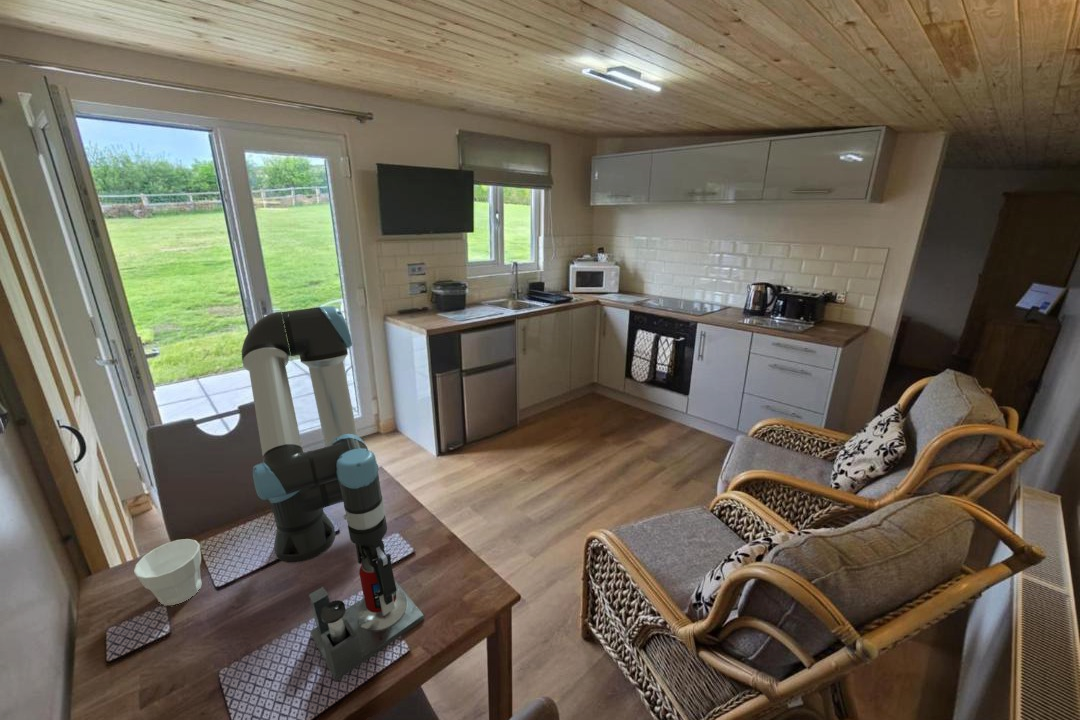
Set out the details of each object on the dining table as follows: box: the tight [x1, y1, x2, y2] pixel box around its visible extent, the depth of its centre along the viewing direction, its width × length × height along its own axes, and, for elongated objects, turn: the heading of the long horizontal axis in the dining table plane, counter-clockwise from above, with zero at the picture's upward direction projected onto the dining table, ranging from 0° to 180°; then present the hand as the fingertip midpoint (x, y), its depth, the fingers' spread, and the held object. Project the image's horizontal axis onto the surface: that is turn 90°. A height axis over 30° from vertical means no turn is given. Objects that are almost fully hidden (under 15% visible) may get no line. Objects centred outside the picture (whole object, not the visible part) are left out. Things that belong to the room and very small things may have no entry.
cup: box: [133, 538, 203, 605], centre depth 109 cm, size 12×12×11 cm
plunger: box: [321, 599, 347, 647], centre depth 90 cm, size 4×4×9 cm
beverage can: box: [358, 557, 396, 613], centre depth 101 cm, size 7×7×12 cm
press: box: [308, 580, 425, 683], centre depth 99 cm, size 14×20×10 cm
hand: (381, 600), depth 103 cm, fingers closed on beverage can, 7 cm apart
